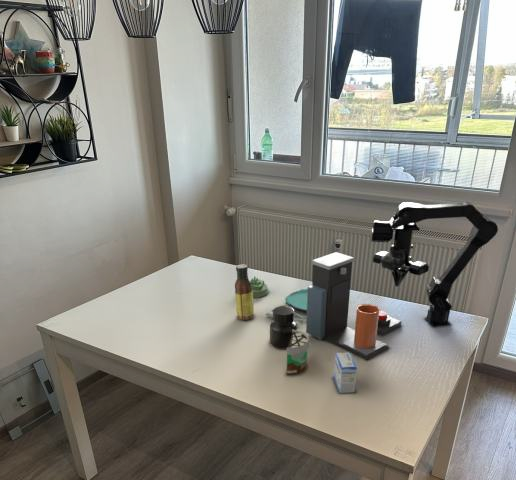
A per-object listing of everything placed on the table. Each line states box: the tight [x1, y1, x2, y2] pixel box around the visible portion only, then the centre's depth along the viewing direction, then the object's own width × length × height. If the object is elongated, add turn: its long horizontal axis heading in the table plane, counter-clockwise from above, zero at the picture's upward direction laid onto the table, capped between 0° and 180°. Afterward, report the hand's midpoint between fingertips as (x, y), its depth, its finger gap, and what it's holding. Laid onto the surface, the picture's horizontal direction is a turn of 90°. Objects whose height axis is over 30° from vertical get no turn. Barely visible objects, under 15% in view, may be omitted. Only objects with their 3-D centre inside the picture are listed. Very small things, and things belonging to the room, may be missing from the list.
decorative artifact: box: [249, 275, 269, 299], centre depth 197 cm, size 10×7×10 cm
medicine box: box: [333, 352, 358, 394], centre depth 138 cm, size 8×4×9 cm, turn 5°
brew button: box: [378, 310, 388, 320], centre depth 169 cm, size 4×4×2 cm
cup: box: [354, 303, 380, 349], centre depth 155 cm, size 7×7×12 cm
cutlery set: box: [264, 288, 308, 326], centre depth 184 cm, size 20×30×2 cm, turn 136°
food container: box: [285, 329, 311, 376], centre depth 146 cm, size 12×6×10 cm, turn 168°
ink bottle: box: [269, 305, 298, 350], centre depth 159 cm, size 10×9×12 cm
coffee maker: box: [305, 251, 390, 361], centre depth 156 cm, size 14×25×26 cm, turn 41°
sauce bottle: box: [234, 263, 255, 321], centre depth 174 cm, size 7×6×20 cm
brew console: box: [377, 314, 402, 337], centre depth 170 cm, size 11×10×4 cm
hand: (397, 286), depth 169 cm, fingers closed
